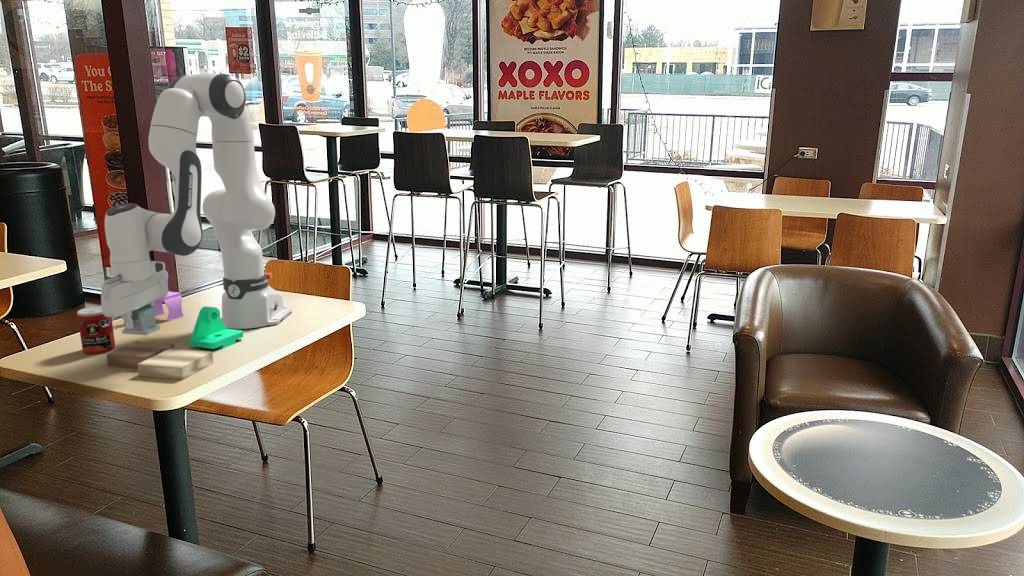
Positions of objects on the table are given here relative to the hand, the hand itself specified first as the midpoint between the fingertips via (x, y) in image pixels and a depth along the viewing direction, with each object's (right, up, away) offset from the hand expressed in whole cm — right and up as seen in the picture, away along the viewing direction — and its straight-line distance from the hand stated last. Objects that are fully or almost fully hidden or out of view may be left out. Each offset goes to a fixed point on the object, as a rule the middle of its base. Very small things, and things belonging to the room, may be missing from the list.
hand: (140, 323), depth 194 cm
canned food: (-16, -8, +10) cm, 20 cm away
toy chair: (-12, 0, +40) cm, 42 cm away
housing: (0, -2, 0) cm, 2 cm away
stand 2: (+11, -11, -5) cm, 17 cm away
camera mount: (+14, -7, +15) cm, 21 cm away
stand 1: (0, -9, +2) cm, 9 cm away
